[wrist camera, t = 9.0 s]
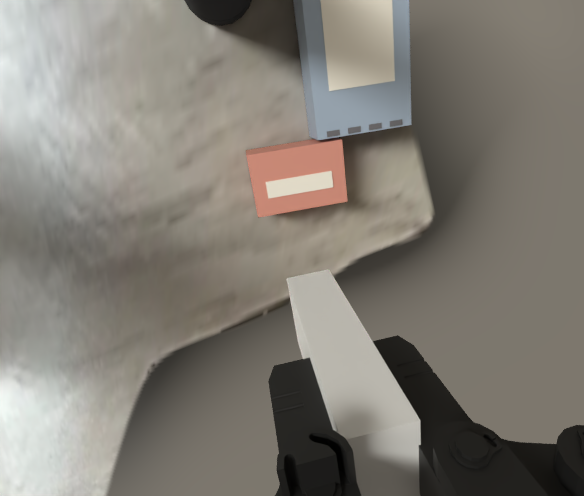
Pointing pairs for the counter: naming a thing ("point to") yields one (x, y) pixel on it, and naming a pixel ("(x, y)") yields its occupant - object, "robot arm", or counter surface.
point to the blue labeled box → (354, 65)
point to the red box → (297, 175)
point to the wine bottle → (218, 10)
